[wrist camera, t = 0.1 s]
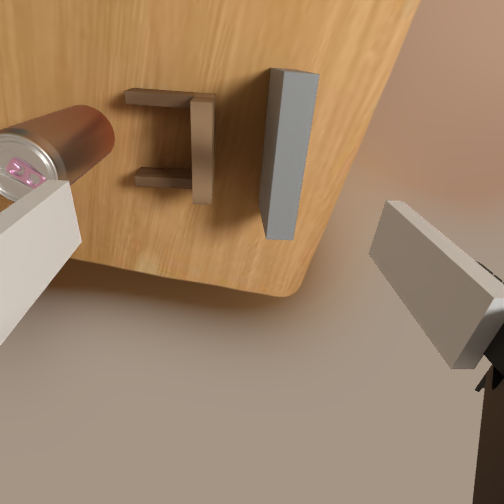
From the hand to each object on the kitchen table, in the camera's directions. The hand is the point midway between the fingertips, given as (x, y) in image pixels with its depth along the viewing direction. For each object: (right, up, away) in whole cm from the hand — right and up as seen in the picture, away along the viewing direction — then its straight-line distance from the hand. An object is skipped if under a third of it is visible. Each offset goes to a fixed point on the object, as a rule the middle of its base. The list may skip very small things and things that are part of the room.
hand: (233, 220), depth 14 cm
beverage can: (-18, +13, +24) cm, 33 cm away
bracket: (-8, +12, +24) cm, 29 cm away
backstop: (+4, +12, +26) cm, 29 cm away
